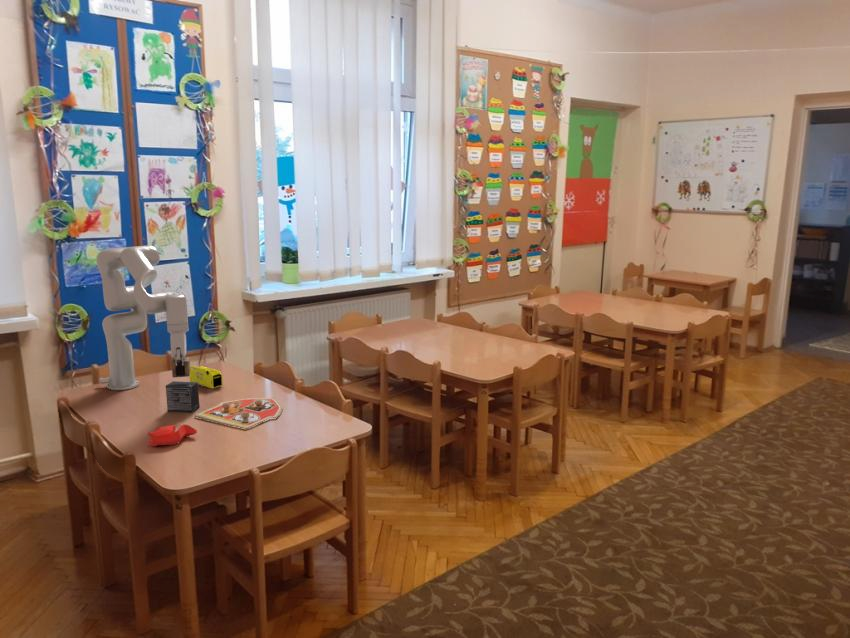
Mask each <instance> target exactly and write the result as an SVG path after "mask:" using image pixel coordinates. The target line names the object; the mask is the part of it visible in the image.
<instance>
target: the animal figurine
mask: <svg viewBox="0 0 850 638" xmlns="http://www.w3.org/2000/svg"><path fill="white" fill-rule="evenodd" d="M176 427H177V425H176V424H172V425H165V426H160V427H157V428H156V429H155V431H153V432H150V431H148V432H147V435H148V436H149V437H150V438H152V440H151V439H148V443H149V445H151V446H152V448H153V447H157V446H158V445H159V446H170V445H171V446H172V445H173V446H174V445H177V444H176V443H178V442H181V441H182V439H184V438H186V437H185V436H188V437H191V436H192V435H196V434H197V433H198V431H197V429H195V428H194V427H192V426H191V425H189V424H182V425H180V426H179V428H178V429H177V430H176ZM190 435H191V436H190ZM183 437H184V438H183ZM178 444H179V443H178Z"/></svg>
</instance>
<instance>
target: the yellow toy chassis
mask: <svg viewBox="0 0 850 638" xmlns="http://www.w3.org/2000/svg"><path fill="white" fill-rule="evenodd" d="M189 382H198V386H201V387H207V388H208V389H216V388H220V387H222V386H223V385H224V384H223V374H222V372H221V371H220V370H217V369H214V368H210V367H206V366H202V365H201V366H199V367H198V366H194V365H190V376H189Z"/></svg>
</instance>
